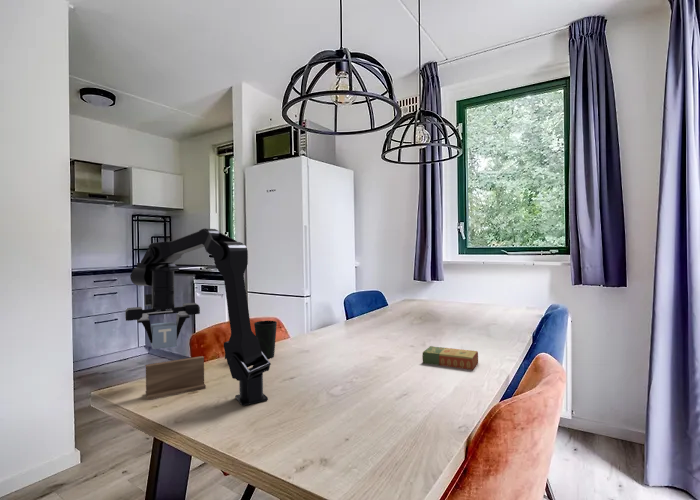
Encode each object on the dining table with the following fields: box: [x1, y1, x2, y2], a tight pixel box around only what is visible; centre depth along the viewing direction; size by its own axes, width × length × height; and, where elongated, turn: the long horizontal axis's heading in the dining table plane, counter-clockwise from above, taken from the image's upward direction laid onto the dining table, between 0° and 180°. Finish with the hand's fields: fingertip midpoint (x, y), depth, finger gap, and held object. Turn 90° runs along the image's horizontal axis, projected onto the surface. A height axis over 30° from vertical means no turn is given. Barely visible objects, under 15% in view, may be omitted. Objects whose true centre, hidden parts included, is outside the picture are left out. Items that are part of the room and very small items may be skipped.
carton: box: [421, 345, 479, 371], centre depth 122 cm, size 8×16×4 cm, turn 61°
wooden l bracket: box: [145, 355, 207, 401], centre depth 101 cm, size 5×14×8 cm, turn 122°
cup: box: [253, 320, 278, 360], centre depth 132 cm, size 8×8×12 cm
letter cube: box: [150, 321, 178, 350], centre depth 108 cm, size 6×6×6 cm
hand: (163, 341), depth 108 cm, fingers closed on letter cube, 6 cm apart
